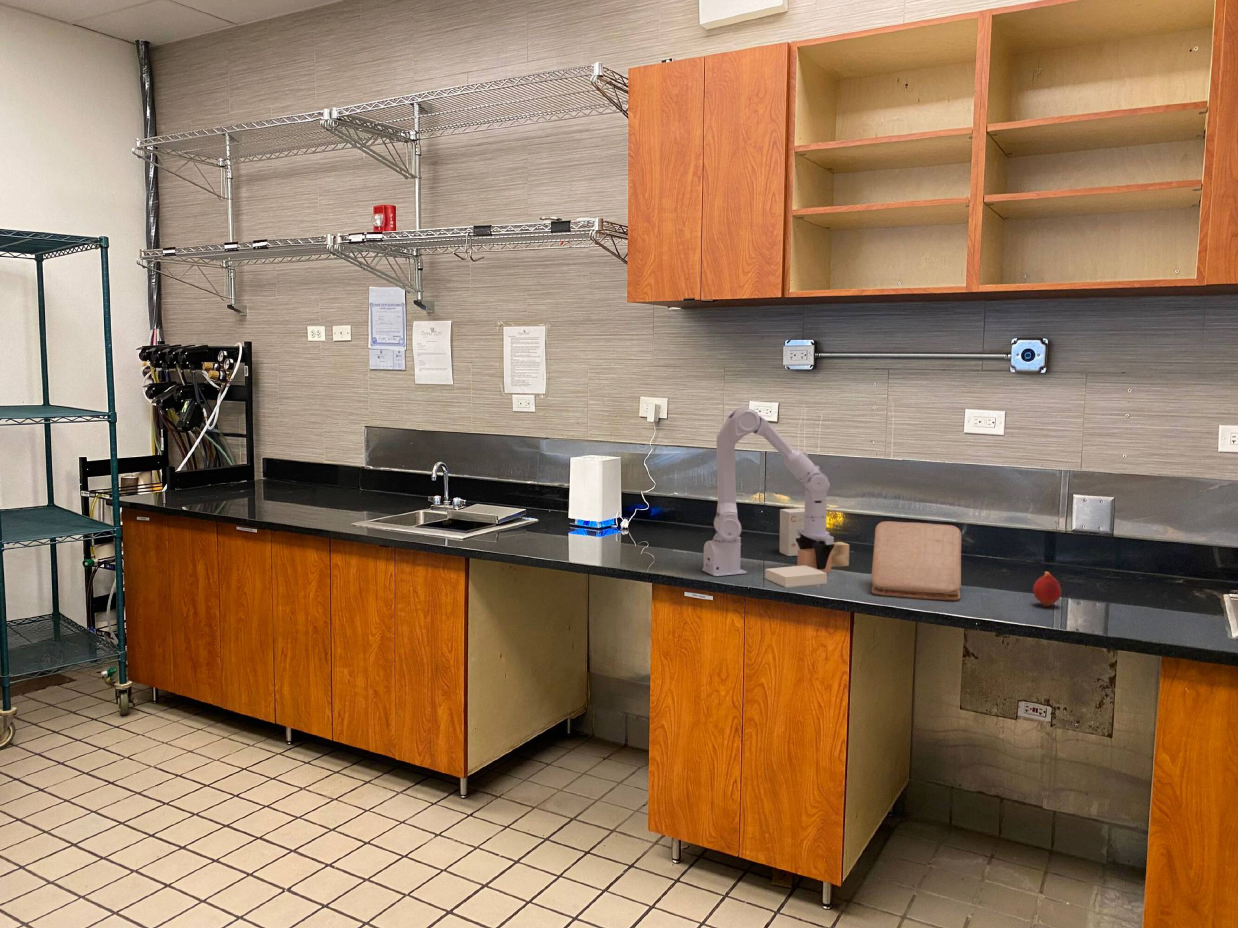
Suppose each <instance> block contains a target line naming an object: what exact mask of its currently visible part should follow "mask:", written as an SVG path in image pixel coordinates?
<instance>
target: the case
mask: <svg viewBox="0 0 1238 928" xmlns="http://www.w3.org/2000/svg"><path fill="white" fill-rule="evenodd" d="M870 577H871V584H872V587H871V593H872V594H874V595H877V596H880V597H881V596H882V597H893V598H894V597H895V598H897V597H898V598H909V599H921V600H922V599H924V600H935V601H945V602H946V601H947V602H950V601H951V602H956V601H959V600H960V599H961V591H960V589H961V586H962V533H961V530H960V528H958V527H957V526H955V525H951V524H942V523H941V524H940V523H939V524H938V523H937V524H936V523H927V522H923V523H922V522H914V521H913V522H907V521H906V522H903V521H889V520H888V521H887V520H885V521H881V522H879V523H878V524H876V526H875V528H874V541H873V555H872V566H871V576H870Z"/></svg>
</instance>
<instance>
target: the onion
mask: <svg viewBox="0 0 1238 928" xmlns="http://www.w3.org/2000/svg"><path fill="white" fill-rule="evenodd" d="M1043 573H1044V575H1042V576H1040V577H1039V578H1038V579H1036V580H1035V582H1034V584H1033V587H1032V593H1033V595H1034V597H1035V599H1036V600H1038V602H1040V603H1041V604H1042V606H1044V607H1049V606H1051V605H1054V604H1055V603H1056V602H1058V600H1059V599H1060V598H1061V596H1062V588H1061V585H1060V582H1059V581H1058V580H1057V579H1056V578H1055V577H1054V576H1053V575H1052V574H1051V573H1050V572H1049V571H1044V572H1043Z"/></svg>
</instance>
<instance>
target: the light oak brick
mask: <svg viewBox="0 0 1238 928" xmlns="http://www.w3.org/2000/svg"><path fill="white" fill-rule="evenodd" d="M849 564H850V544H848V543H846V542H842V541H836V542H835V541H834V548H833V549H832V561H831V568H840V567H846V566H848V567H849Z"/></svg>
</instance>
